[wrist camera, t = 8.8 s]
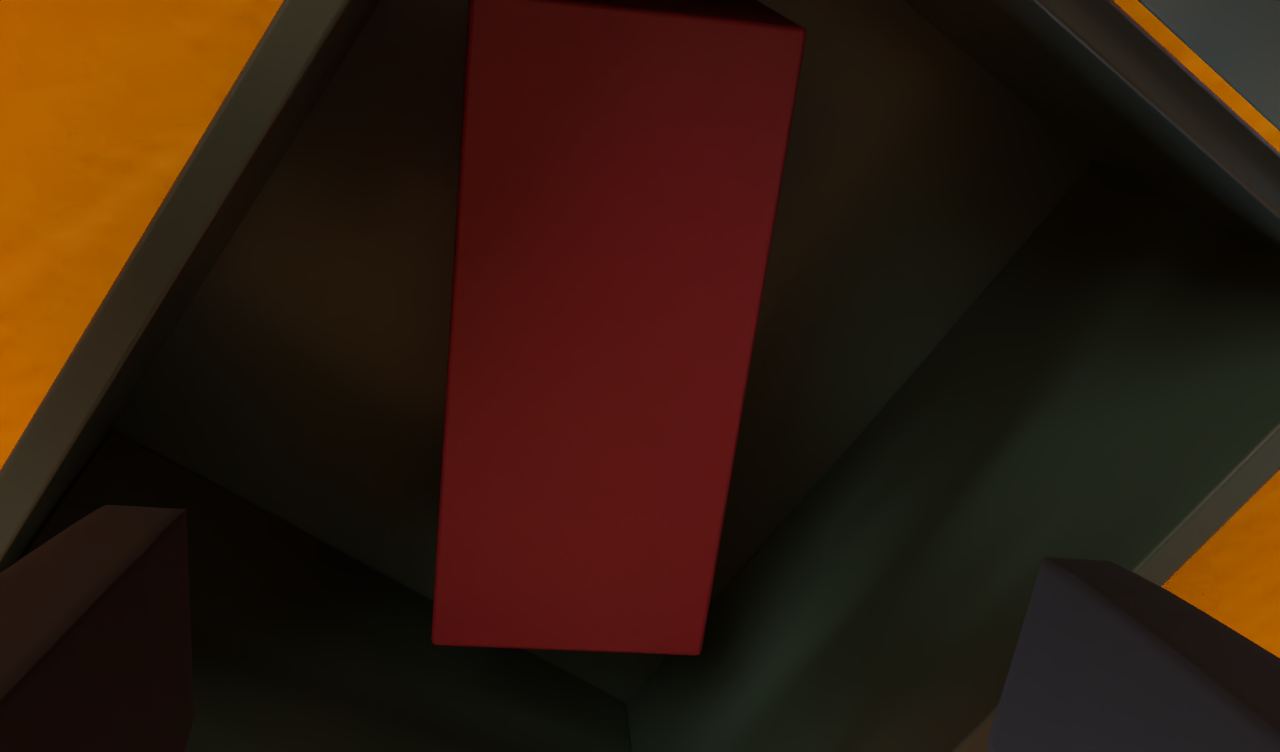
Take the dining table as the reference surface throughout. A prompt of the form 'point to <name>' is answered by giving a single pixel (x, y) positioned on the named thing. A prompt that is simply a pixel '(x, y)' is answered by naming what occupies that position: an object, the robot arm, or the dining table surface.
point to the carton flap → (1232, 43)
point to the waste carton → (774, 400)
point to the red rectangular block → (604, 313)
